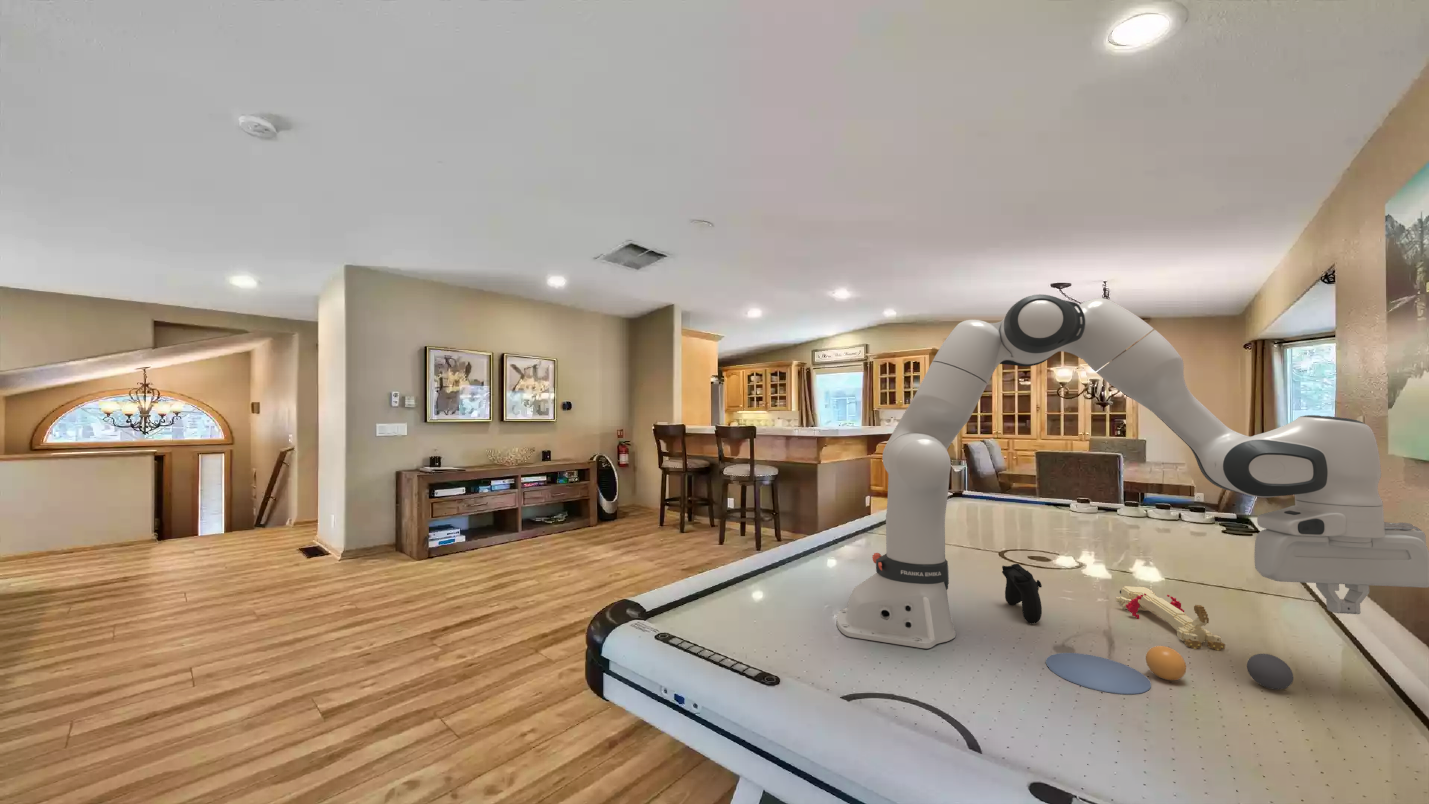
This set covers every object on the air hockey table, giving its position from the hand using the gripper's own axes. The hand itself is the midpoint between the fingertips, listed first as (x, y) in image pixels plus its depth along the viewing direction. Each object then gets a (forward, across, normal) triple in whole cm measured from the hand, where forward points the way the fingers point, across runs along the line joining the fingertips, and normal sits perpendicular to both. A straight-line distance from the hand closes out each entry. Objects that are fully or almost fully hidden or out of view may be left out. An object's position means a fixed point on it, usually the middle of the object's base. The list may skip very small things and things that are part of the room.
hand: (1343, 612), depth 81 cm
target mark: (+12, +34, 0) cm, 36 cm away
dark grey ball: (+10, +10, 0) cm, 14 cm away
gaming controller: (+12, +36, -27) cm, 46 cm away
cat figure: (+13, +10, -27) cm, 31 cm away
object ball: (+9, +24, 0) cm, 26 cm away
